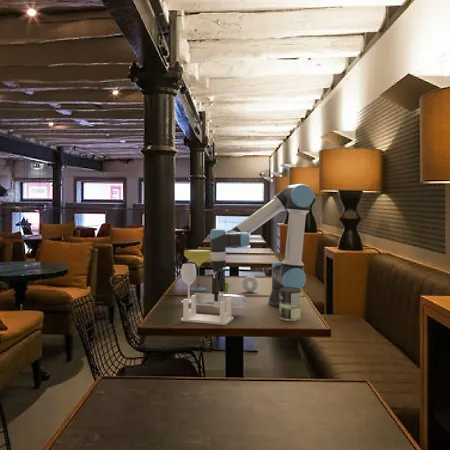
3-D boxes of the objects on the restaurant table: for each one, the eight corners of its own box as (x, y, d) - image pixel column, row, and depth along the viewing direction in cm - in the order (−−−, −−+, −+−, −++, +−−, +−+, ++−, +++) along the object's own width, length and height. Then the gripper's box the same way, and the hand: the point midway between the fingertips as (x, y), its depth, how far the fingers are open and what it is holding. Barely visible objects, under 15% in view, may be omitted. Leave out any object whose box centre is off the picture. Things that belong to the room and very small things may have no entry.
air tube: (245, 307, 242) (245, 294, 242) (242, 308, 236) (242, 296, 236) (197, 304, 250) (197, 292, 250) (192, 306, 244) (192, 293, 244)
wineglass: (184, 304, 263) (184, 265, 262) (178, 301, 271) (178, 263, 270) (199, 302, 267) (199, 264, 266) (192, 299, 275) (192, 262, 274)
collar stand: (233, 318, 231) (233, 297, 231) (225, 324, 220) (225, 303, 219) (190, 315, 238) (190, 294, 238) (180, 320, 227) (180, 299, 226)
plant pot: (230, 297, 283) (230, 282, 282) (229, 300, 273) (229, 285, 273) (214, 296, 284) (214, 282, 283) (212, 300, 274) (212, 284, 274)
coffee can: (279, 320, 228) (280, 290, 227) (278, 315, 238) (278, 287, 237) (302, 321, 227) (302, 291, 226) (299, 315, 237) (299, 287, 237)
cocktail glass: (212, 292, 298) (212, 251, 296) (183, 292, 298) (182, 251, 297) (213, 286, 316) (213, 248, 314) (185, 286, 316) (185, 248, 315)
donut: (258, 291, 300) (258, 275, 299) (258, 292, 296) (258, 276, 296) (241, 291, 300) (241, 275, 299) (241, 292, 296) (241, 276, 296)
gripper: (217, 257, 252) (218, 301, 253) (204, 262, 234) (205, 309, 235) (231, 257, 250) (232, 302, 251) (218, 262, 232) (219, 310, 233)
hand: (219, 305), depth 243 cm, fingers closed on air tube, 6 cm apart
